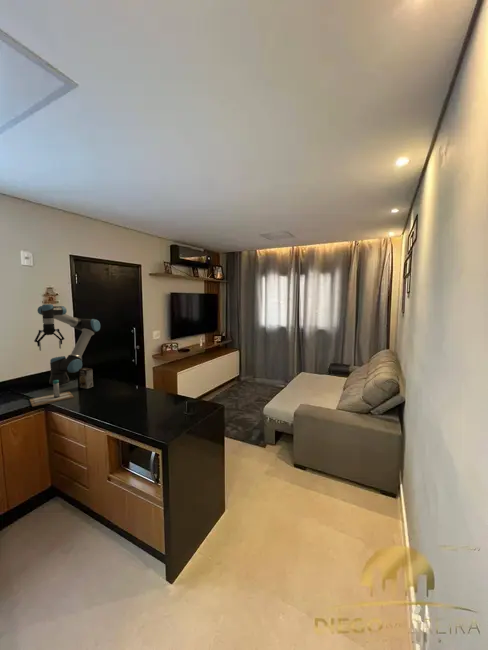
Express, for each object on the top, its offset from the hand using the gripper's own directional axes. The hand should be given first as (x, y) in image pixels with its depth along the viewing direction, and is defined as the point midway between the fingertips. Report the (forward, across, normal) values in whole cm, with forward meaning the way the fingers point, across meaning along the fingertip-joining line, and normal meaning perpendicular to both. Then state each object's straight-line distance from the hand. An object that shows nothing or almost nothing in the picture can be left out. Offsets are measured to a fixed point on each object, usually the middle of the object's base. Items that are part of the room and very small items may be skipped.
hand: (50, 349), depth 233 cm
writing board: (+35, -4, -22) cm, 41 cm away
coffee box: (+35, +23, -8) cm, 43 cm away
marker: (+34, -1, -23) cm, 41 cm away
